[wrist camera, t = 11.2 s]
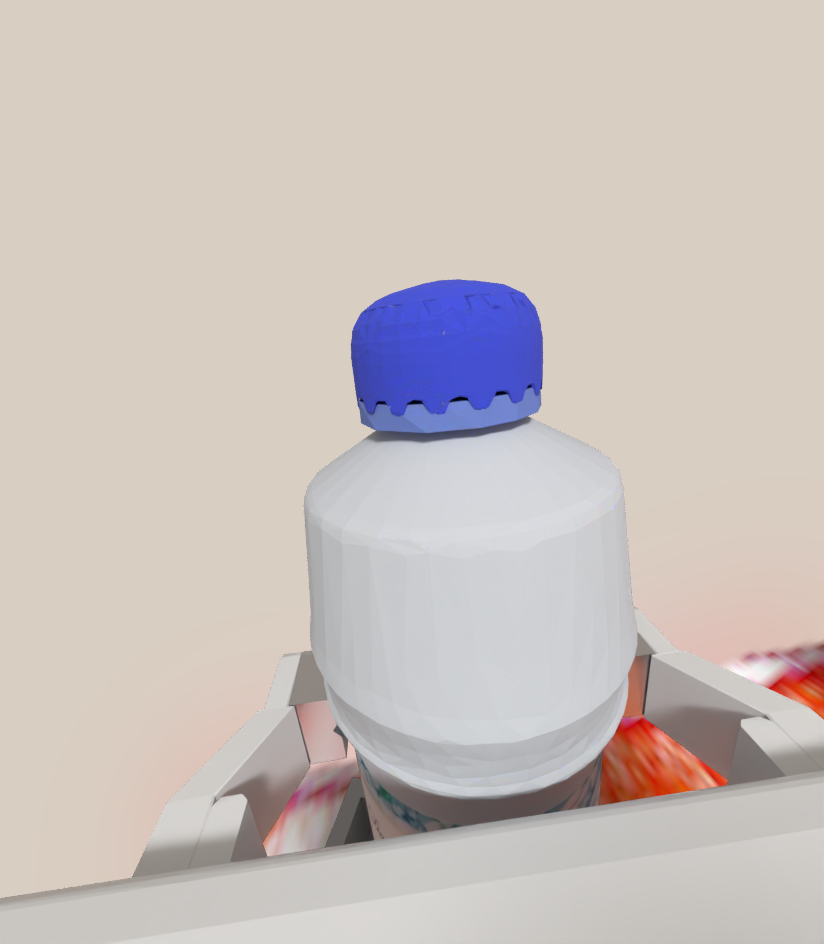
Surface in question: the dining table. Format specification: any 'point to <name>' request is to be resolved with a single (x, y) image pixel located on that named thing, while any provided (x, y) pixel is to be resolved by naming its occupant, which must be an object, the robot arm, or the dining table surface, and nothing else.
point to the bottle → (467, 572)
